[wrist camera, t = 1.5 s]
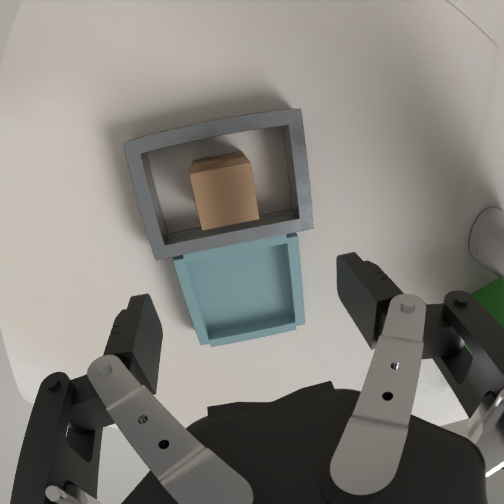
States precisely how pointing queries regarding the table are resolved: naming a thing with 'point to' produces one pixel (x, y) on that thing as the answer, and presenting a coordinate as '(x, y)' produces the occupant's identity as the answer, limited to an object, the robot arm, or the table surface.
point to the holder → (234, 233)
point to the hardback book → (492, 300)
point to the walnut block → (224, 190)
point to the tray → (243, 289)
